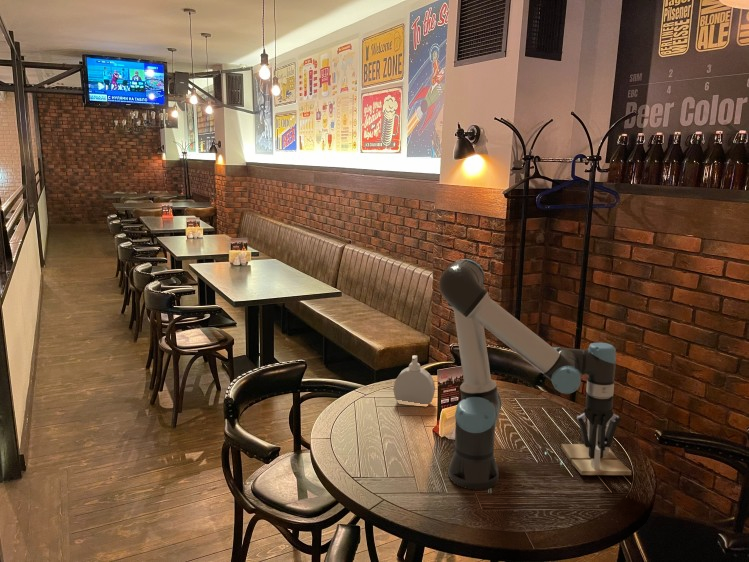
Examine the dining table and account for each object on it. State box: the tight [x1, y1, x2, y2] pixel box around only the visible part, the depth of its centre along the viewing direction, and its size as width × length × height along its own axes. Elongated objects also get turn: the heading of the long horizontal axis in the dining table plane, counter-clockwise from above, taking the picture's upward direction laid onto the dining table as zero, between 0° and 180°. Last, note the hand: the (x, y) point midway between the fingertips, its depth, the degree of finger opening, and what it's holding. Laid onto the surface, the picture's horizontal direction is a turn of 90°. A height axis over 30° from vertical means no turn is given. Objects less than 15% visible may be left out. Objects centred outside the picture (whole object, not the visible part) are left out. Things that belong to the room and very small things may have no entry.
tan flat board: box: [561, 443, 619, 463], centre depth 183 cm, size 15×9×1 cm, turn 89°
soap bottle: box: [392, 354, 436, 406], centre depth 220 cm, size 16×5×20 cm, turn 75°
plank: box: [570, 459, 632, 476], centre depth 173 cm, size 15×9×1 cm, turn 89°
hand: (595, 467), depth 171 cm, fingers closed
